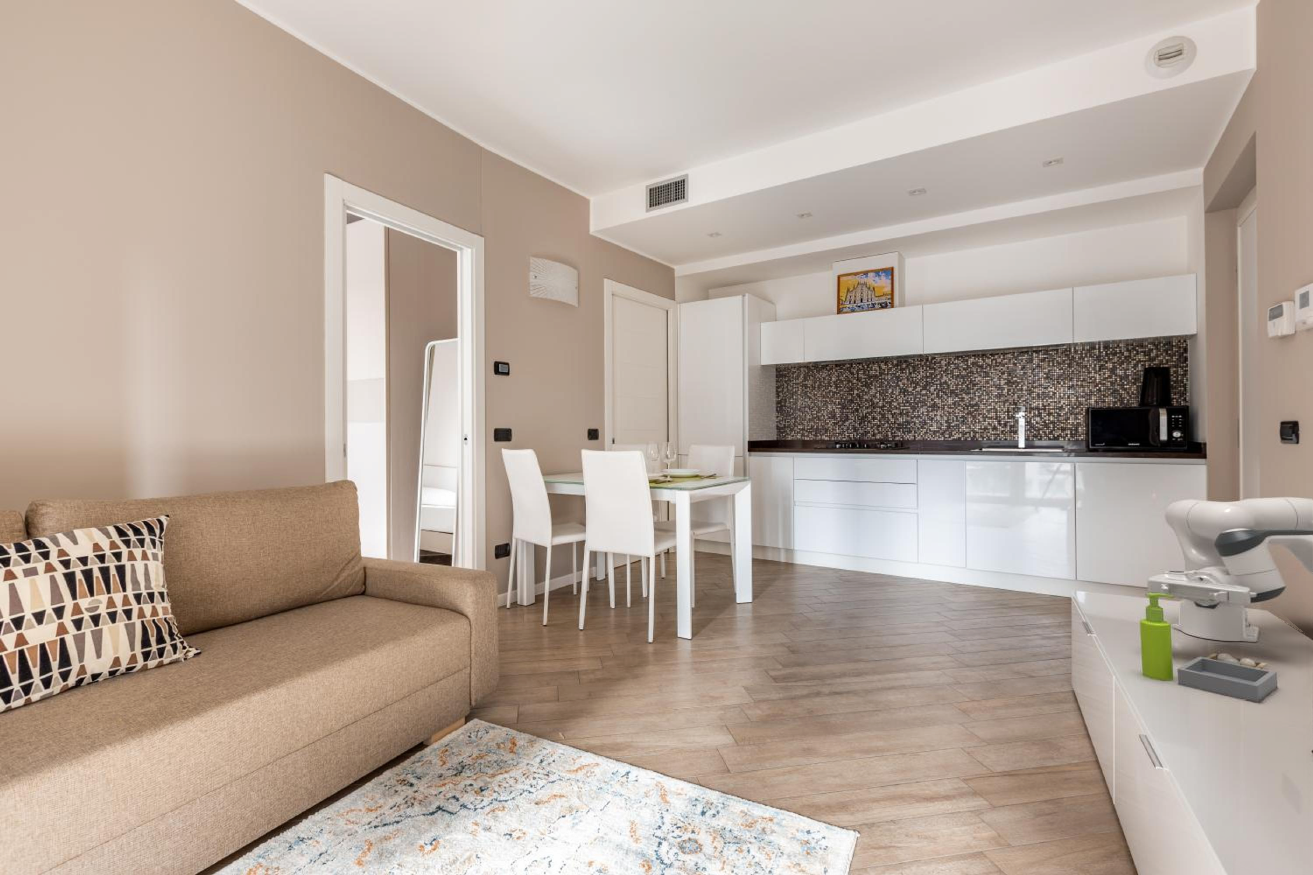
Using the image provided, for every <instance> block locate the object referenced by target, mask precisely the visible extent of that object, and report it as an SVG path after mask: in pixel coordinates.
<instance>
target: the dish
mask: <svg viewBox="0 0 1313 875" xmlns="http://www.w3.org/2000/svg"><path fill="white" fill-rule="evenodd" d="M1277 673H1278V672H1277V671H1272V670H1270V669H1267V670H1264V669H1259V668H1254V667H1249V666H1244V665H1239V664H1234V663H1229V662H1224V661H1219V660H1214V659H1209V658H1206V657H1203V656H1198V657H1195V659H1192V660H1191V661H1189V662H1187V663H1184V665H1182V666H1180V667H1178V668H1177V682H1178V684H1177V685H1179V686H1180V685H1181V686H1185V687H1189V688H1193V689H1198V690H1201V691H1207V692H1210V693H1214V694H1219V695H1222V696H1227V697H1231V698H1235V699H1239V698H1240V700H1244V699H1245V701H1248V700H1249V702H1252V701H1253V703H1257V704H1260V702H1263V700H1264V699H1265V698H1267V697H1268V696H1269V695H1271V694H1272V693H1273V692H1274V691H1276V690H1277V689H1278V674H1277Z"/></svg>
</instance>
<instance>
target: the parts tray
mask: <svg viewBox="0 0 1313 875" xmlns="http://www.w3.org/2000/svg"><path fill="white" fill-rule="evenodd" d="M1218 655H1219V653H1218V654H1217V653H1216V652H1215V653H1212V654H1210V655H1208V656H1206V657H1205V658H1209V659H1214V660H1218V659H1217V657H1218ZM1231 657H1232V658H1235V659H1237V660H1238V661H1240V660H1241V659H1242V658H1240V657H1234V656H1231ZM1253 661H1254V662H1255V664H1256V667H1255V668H1259V669H1264V670H1268V669H1267V666H1268V665H1267V662H1266V663H1265V662H1260V661H1255V660H1253Z"/></svg>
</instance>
